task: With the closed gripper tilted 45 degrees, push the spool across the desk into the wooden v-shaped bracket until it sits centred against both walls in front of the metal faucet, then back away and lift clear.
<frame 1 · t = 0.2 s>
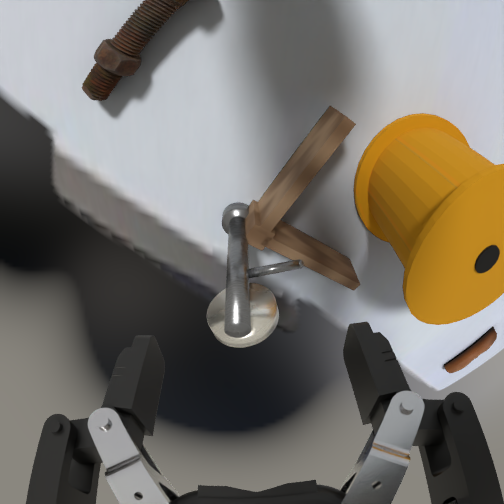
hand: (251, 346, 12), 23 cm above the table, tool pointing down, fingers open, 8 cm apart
spool: (417, 182, 32), on the table
wooden v-shaped bracket: (263, 210, 34), on the table
sunglasses case: (470, 346, 62), on the table
bolt: (144, 32, 21), on the table
metal faucet: (238, 216, 34), on the table
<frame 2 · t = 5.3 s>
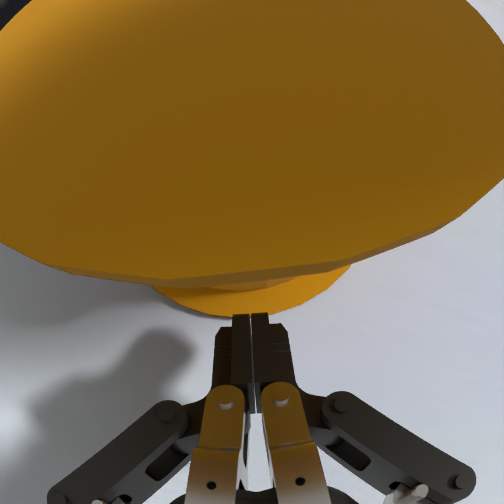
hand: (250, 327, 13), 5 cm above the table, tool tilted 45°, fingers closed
spool: (241, 180, 20), on the table
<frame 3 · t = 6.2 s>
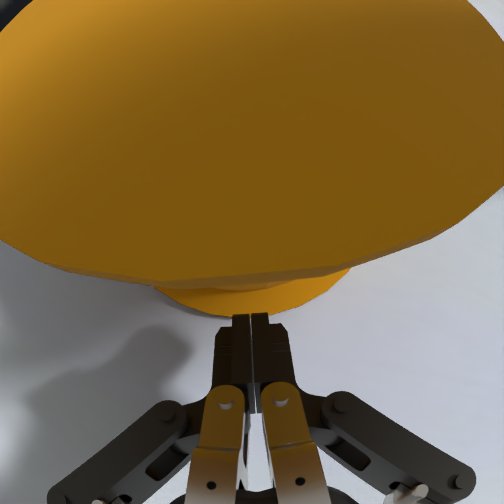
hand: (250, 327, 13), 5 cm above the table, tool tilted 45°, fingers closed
spool: (243, 180, 20), on the table, touching gripper
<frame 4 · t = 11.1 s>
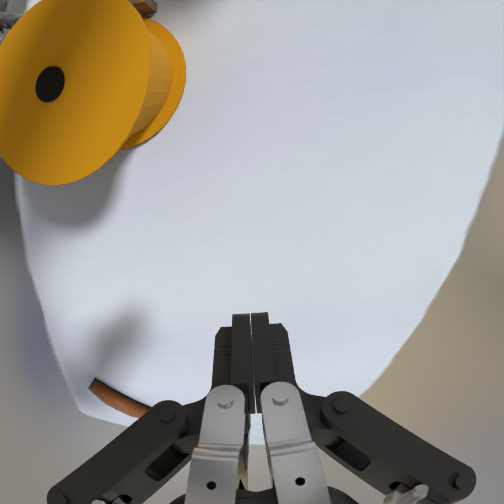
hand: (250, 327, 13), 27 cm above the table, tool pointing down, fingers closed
spool: (117, 81, 29), on the table
sunglasses case: (121, 396, 63), on the table
metal faucet: (50, 27, 23), on the table
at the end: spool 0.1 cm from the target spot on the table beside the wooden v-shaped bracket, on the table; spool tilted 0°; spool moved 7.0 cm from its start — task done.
